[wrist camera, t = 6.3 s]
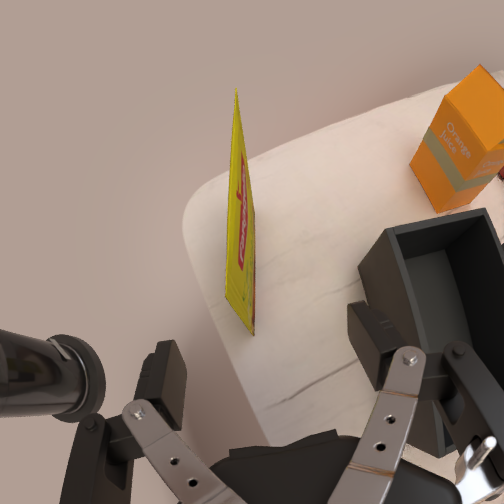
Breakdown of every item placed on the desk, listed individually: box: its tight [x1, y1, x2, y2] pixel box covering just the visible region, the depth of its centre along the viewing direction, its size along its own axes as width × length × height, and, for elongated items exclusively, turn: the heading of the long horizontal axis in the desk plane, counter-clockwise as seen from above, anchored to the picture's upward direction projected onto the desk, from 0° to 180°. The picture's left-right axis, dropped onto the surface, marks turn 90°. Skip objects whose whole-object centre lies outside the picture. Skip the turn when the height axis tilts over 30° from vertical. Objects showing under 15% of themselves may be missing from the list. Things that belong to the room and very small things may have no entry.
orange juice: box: [409, 65, 504, 214], centre depth 29 cm, size 8×9×20 cm
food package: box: [225, 88, 255, 336], centre depth 27 cm, size 15×1×20 cm, turn 0°
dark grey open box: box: [358, 208, 504, 458], centre depth 27 cm, size 14×22×11 cm, turn 11°
